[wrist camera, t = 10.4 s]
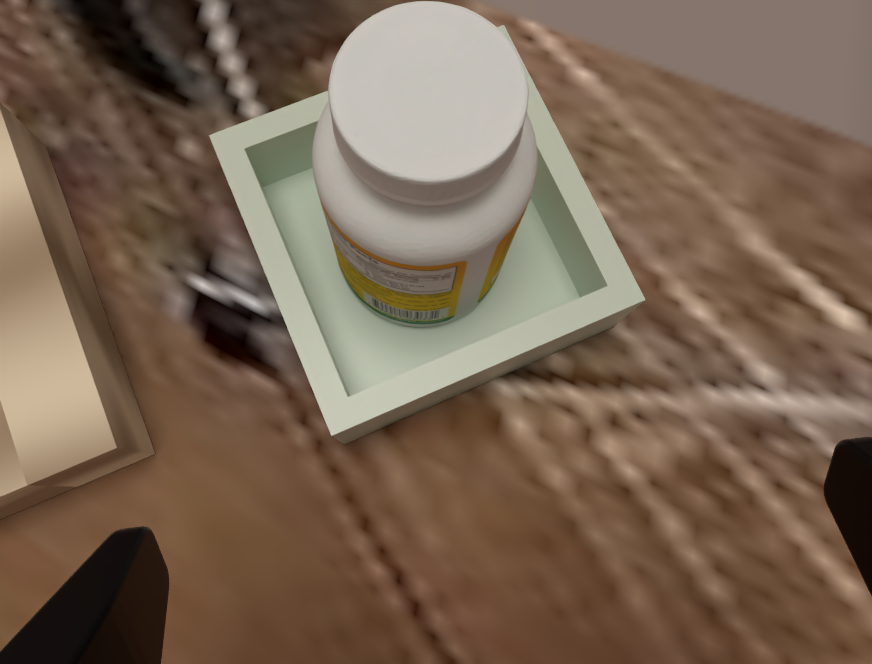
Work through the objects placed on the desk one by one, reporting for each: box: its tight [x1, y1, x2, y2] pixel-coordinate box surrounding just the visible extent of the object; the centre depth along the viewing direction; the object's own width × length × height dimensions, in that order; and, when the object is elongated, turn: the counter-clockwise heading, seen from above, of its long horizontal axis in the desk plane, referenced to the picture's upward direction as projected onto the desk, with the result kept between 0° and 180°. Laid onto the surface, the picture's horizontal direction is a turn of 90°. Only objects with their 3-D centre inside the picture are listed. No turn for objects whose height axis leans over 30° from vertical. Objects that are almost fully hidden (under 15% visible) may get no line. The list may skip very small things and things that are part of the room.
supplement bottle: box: [312, 1, 538, 327], centre depth 19 cm, size 5×5×10 cm
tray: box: [209, 25, 645, 445], centre depth 23 cm, size 10×10×4 cm
